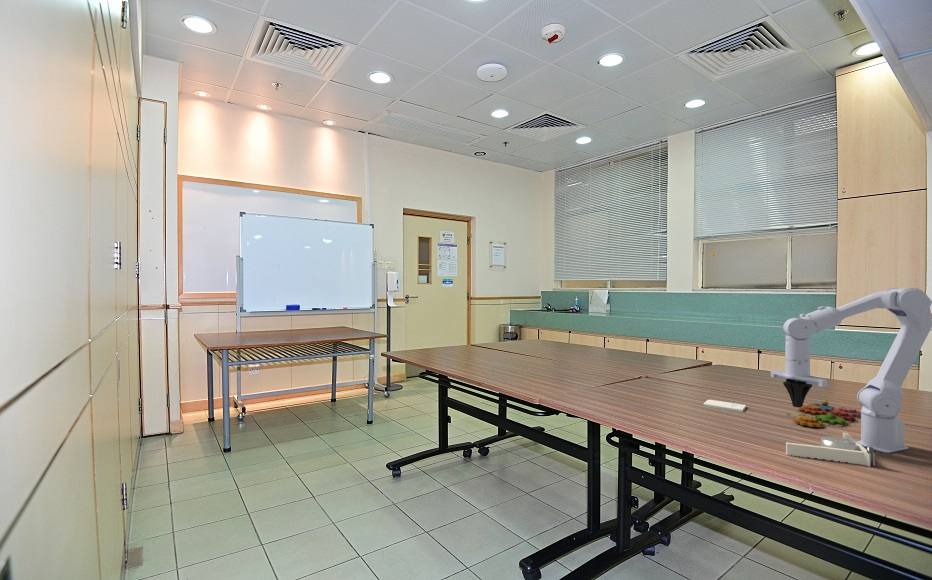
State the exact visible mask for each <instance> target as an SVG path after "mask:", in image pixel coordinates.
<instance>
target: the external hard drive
mask: <svg viewBox="0 0 932 580" xmlns="http://www.w3.org/2000/svg"><path fill="white" fill-rule="evenodd" d="M703 407H708V408H713V409H714V408H715V409H719V410H726V411H734V412H740V413H743V412H744V411H745V410H746V408H747V405H746V404H741V403H734V402H730V401H729V402H727V401H722V400H715V399H707V400H706V401H704V403H703Z"/></svg>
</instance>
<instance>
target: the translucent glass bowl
mask: <svg viewBox="0 0 932 580" xmlns="http://www.w3.org/2000/svg"><path fill="white" fill-rule="evenodd" d="M820 446H821V447H829V448H838V449H846V450H854V451H856V443H855V442H853V441H851V440H848V439H844V438H843V437H838V436H828V435H827V436H826V435H825V436H821V437H820Z"/></svg>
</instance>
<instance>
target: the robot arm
mask: <svg viewBox="0 0 932 580" xmlns="http://www.w3.org/2000/svg"><path fill="white" fill-rule="evenodd" d="M931 306H932V299H931V298H930V297H929V296H928V294H927V293H925V291H924V290H922V289H919V288H915V287H907V288H905V287H904V288H902V287H901V288H899V287H890V288H888V289H885V290H880V291H876V292H873V293H870V294H868V295H866V296H865V295H864V296H863V297H861V298H858V299H856V300H854V301H850V302H848V303H845V304H843V305H841V306H839V307H836V308H835V307H832V306H828V305H827V306H823V305H821V306H818V307H817V310H814V311H811V312H808V313H806V314H805V313H801V314H799V318H797V317H792V318H789V319H787V320H786V321H785V322H784V324H783V326H782V328H781V329H782V332H783V334H784V335H785V344H784V346H785V347H784V348H785V350H784V351H785V352H784V353H785V355H784V356H785V357H784V358H785V359H784V360H785V371H784V370H783V371H782V370H775V369H774V370H770V378H773V379H775V378H777V379H780V380H781V379H782V380H785V381H783V382H782V385H783V386H784V387H785V389H786V391H787V393H788V395H789V397H790V400H791V403H792V407H794V408H799V407H804V402H805V398H806V397H807V395H808V393H809V391H810V390H811V389H812V387H813V386H818V387H821V388H826V387H828V379H827V378H826V379H825V378H822V377H817V376H813V375H811V344H810V340H811V339H810V338H811V337H812V336H813V334H817V333H821V332H823V331H825V330H828V329H831V328H834V327H837V326H840V325H841V324H842V322H843V319H846V318H848V317H852V316H855V315H858V314H862V313H864V312H865V313H866V312H868V311H871V310H875V309H886V310H888V311H889V312H890V313H892V314H893V315H895V317H896V318H897V320H898V321H899V322H900V325H901V327H900V329H899V331H898V333H897V335H896V336H895V338H894V340H893V342H892V345H891V346H890V348H889V350H888V352H887V354H886V356H885V358H884V360H883V362H882V364H881V366H880V368H879V370H878V371H877V374H876V376H874V377H873V378H871V379H870V380H869V381H868V382H867V384H865V386H864V387H863V388H861V389H860V390H859V391H858V392H857V395H856V400H857V402H858V404H859V405H860V406H861V409H860V412H861V417H860V440H856V441H857V442H858V443H859V444H860V445H862V446H863V447H864V448H867V447H873V448H874V451H878V452H882V453H885V454H889V453H890V454H891V453H895V452H900V451H904V450H908V449H909V448H910V447H909V446H907V445H905V423H904V422H903V420H902V418H900V417H899V416H898V415H899V414H900V413H901V411H902V408H903V406H902V405H903V404H902V400H903V397H904V391H903V388H902V385H903V383H904V382H905V379H906V378H907V375H908V374H909V372H910V370H911V367H913V364H914V363H915V360H916V359H917V356H918V355H919V353H920V352H921V349H922V347H923V345H924V343H925V341H926V340H927V338H928V335H929V333H930V332H931V330H932V311H931Z"/></svg>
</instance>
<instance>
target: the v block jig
mask: <svg viewBox="0 0 932 580" xmlns="http://www.w3.org/2000/svg"><path fill="white" fill-rule="evenodd" d="M842 438H844V439H848V440H851V441H853V442H855V443H856V451H854V450H846V449H838V448H829V447H821V445H812V444H804V443H803V444H802V443H795V442H794V443H793V442H785V454H786V456H791V455H792V457H799V456H800V457H801V458H807V457H810V458H809V459H814V458H817V459H818V460H822V459H825V460H824V461H830V460H833V461H832V462H838V461H840V462H839V463H845V462H848V463H847V464H853V465H860V466H866V467H868V468H869V467H871V468H872V467H873V468H874V466H875V453H874V452H875V450H874V448H873V447H864V446H862V445H860V444H859V443H858V442H857V441H858V440H856V439H855V438H854V437H852V436H851V435H850V434H849V433H848V432H842ZM817 459H816V460H817Z"/></svg>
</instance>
